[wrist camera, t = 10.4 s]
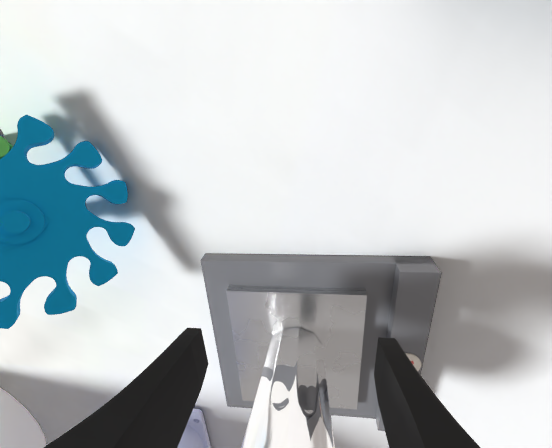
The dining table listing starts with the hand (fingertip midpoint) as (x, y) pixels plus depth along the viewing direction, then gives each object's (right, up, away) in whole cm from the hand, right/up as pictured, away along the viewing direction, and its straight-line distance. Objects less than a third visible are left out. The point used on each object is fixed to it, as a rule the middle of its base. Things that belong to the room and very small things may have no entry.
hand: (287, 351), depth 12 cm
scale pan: (+1, -3, +7) cm, 8 cm away
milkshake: (+1, -3, +7) cm, 7 cm away
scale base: (+2, -3, +8) cm, 8 cm away
